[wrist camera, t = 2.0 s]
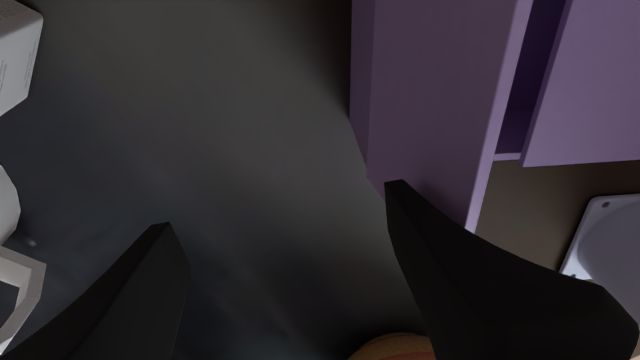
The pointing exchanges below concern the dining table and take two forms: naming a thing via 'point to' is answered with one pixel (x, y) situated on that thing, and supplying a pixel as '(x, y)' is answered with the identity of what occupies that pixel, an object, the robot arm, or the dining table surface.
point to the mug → (16, 264)
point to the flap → (442, 96)
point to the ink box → (17, 51)
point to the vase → (396, 348)
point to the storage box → (548, 83)
